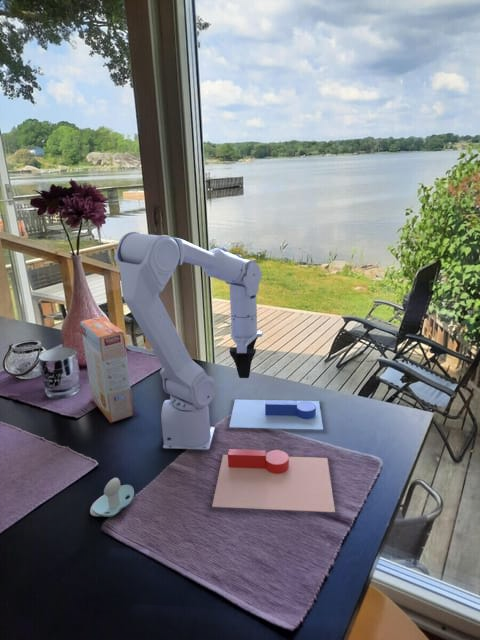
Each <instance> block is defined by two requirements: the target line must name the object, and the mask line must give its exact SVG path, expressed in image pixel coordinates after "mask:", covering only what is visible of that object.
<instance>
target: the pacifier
mask: <svg viewBox="0 0 480 640" xmlns="http://www.w3.org/2000/svg"><path fill="white" fill-rule="evenodd" d="M134 497H135V490H134V487H133V485H131V484H123V485H121V480H120V479H119V478H118V477H113V478H112V479H110V480H109V481H108V482H107V483H106V484H105V487H104V489H103V495H101V496H99V498H97V499H96V500H95V501H94V502H93V503H92V505H91V507H90V509H89V514H90V515H91V516H92V517H106V518H107V517H108V518H109V517H113V516H116V515H117V514H118V513H120V512H121V510H123V509H124V508H126V507H127V506H129V505H130V504H131V503H132V501H133V500H134Z"/></svg>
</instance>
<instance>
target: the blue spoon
mask: <svg viewBox="0 0 480 640" xmlns="http://www.w3.org/2000/svg"><path fill="white" fill-rule="evenodd" d="M265 400H266V401H265V415H279V416H298V417H299V418H302V419H311V418H314V417H315V415H316V406H315V404H314V403H312V402H308V401H309V400H302V401H303V402H299V403H297V401H298V400H289V401H276V400H277V399H274V400H273V399H265Z"/></svg>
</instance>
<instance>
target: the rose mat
mask: <svg viewBox="0 0 480 640" xmlns="http://www.w3.org/2000/svg"><path fill="white" fill-rule="evenodd" d="M211 508H224V509H225V508H228V509H229V508H230V509H249V510H251V509H252V510H274V511H295V512H297V511H298V512H317V513H336V508H335V501H334V495H333V488H332V480H331V474H330V466H329V460H328V457H312V456H308V457H307V456H289V468H288V470H287V471H286V472H284V473H280V474H275V473H271V472H269V471H268V470H267V469H260V468H231V467H228V454H222V458H221V462H220V467H219V473H218V477H217V481H216V486H215V491H214V496H213V500H212V505H211Z"/></svg>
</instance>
